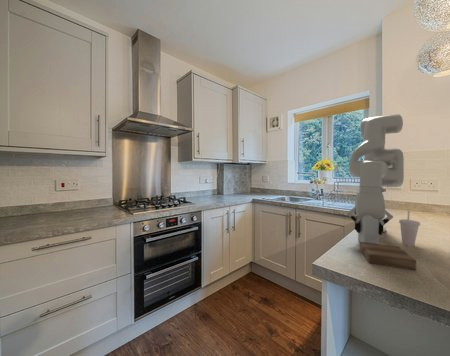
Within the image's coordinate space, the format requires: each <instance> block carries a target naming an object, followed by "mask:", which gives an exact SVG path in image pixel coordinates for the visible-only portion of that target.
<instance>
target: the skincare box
mask: <svg viewBox="0 0 450 356" xmlns="http://www.w3.org/2000/svg"><path fill="white" fill-rule="evenodd" d="M359 223H360V233H357V238H358V239H357V241H359V243H360V242H365V243H373V244H379V241H380V240H379V237H380V235H379V220H378V219H375V218H373V217H372V216H370V215H364V216H363V218H361V220H360V221H359Z"/></svg>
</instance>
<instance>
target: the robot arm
mask: <svg viewBox="0 0 450 356" xmlns="http://www.w3.org/2000/svg"><path fill="white" fill-rule="evenodd" d="M403 126H404V120H403V117H402V115H400V114H398V113H397V114H389V115H387V114H386V115H378V116H371V117H368V118H363V120H361V122H360V134H361V137H362V139H363V140H362V143H361V144H360V145H359V146H357V147H356V148H355V149H354V151H352V153H351V156H350V160H349V164H348V165H349V168H348V172H349V175H350V176H351V177H353V178H359V187H358V189H359V190H358V192H357V193H356V195H355V200H354V206H353V207H352V209H350V210H348V211H347V212H346V214H347V215H348V217H349V218H350V219H351V220H352V221H353V222H354V230H355V231H356V233H357V234H358V233H360V223H359V221H360V220H361V218H363V216H364V215H370V216H372V217H373V218H375V219H378V220H379V236H382V234H383V233H385V232H386V231H387V228H386V227H384V226H386V224H387V223H389V222H390V221H391V220H392V219H393V218H394V216H393V215H392V214H391V213H390V212H389V211H387V210H386V203H385V197H384V194H383V193H386V192H387V188H399V187H402V185H403V184H404V179H405V178H404V177H405V175H404V174H405V172H404V171H405V170H404V169H405V166H404V165H405V159H404V157H405V156H404V153H403V150H401V149H400V148H386V146H385V145H386V135H387V134H398V133H400V132H401V131H402V129H403ZM361 157H364V158H363V159H364V160H359V159H361ZM384 187H385V188H384ZM353 214H354V215H355V216H354V215H353Z"/></svg>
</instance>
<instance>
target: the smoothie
mask: <svg viewBox="0 0 450 356" xmlns="http://www.w3.org/2000/svg"><path fill="white" fill-rule="evenodd" d="M406 218H407V219H404V218H402V219H399V222H398V223H399V227H400V233H401V235H400V236H401V242H402V245H404V246H407V245H408V247H415V244H416V240H417V235H418V231H419V227H420V226H421V222H419V221H416V220H412V219H410V210H407V217H406Z"/></svg>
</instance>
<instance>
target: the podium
mask: <svg viewBox="0 0 450 356" xmlns="http://www.w3.org/2000/svg"><path fill="white" fill-rule="evenodd" d="M359 243H360V245H359V251H361V253H362V255H363V256H364V258H365V259H366V260H367V262H368V263H369V264H372V265H379V266H385V267H392V268H399V269H406V270H413V271H416V268H417V260H416V259H415V258H413V257H412V256H411V255H410V254H409V253H407V252H406V251H405V250H404V249H403V248H402V247H400V246H397V245H389V244H388V245H387V244H380V243H378V244H373V243H365V242H360V241H359Z"/></svg>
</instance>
